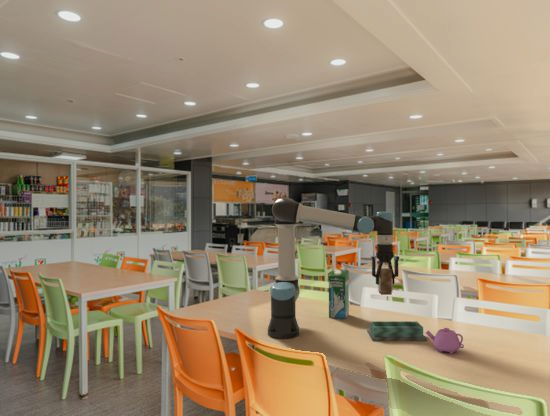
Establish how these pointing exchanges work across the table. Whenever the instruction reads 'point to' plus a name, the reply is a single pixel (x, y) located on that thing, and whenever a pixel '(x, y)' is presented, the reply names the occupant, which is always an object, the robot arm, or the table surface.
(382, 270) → the walnut block
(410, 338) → the green tray
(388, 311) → the table surface
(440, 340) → the teapot
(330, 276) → the milk carton
